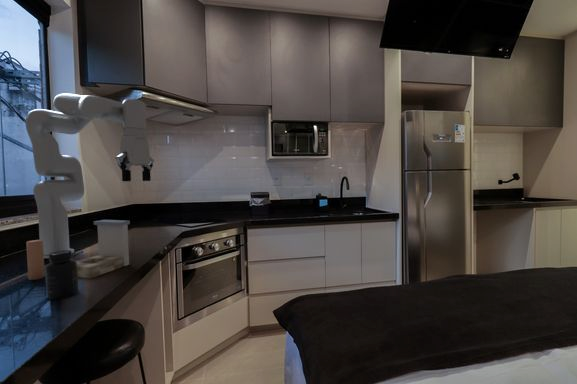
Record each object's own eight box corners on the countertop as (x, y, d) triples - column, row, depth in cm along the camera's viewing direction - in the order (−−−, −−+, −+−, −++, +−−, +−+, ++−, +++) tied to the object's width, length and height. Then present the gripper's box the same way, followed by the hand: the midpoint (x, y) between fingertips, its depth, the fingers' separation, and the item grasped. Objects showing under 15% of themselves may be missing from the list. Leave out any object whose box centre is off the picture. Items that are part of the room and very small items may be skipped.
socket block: (63, 275, 94) (62, 264, 94) (96, 264, 106) (96, 255, 105) (90, 278, 91) (90, 267, 90) (122, 266, 102) (121, 257, 102)
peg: (25, 279, 91) (23, 242, 90) (39, 275, 94) (37, 239, 94) (34, 280, 89) (31, 242, 89) (48, 276, 93) (46, 240, 93)
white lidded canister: (95, 264, 105) (93, 221, 104) (106, 261, 109) (104, 219, 109) (121, 267, 102) (119, 222, 101) (131, 263, 106) (129, 220, 105)
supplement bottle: (67, 289, 82) (64, 248, 81) (84, 291, 80) (82, 249, 79) (40, 298, 75) (37, 254, 75) (58, 301, 74) (56, 256, 73)
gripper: (143, 138, 114) (145, 180, 114) (106, 131, 97) (108, 181, 98) (159, 137, 112) (161, 180, 113) (124, 130, 95) (126, 181, 96)
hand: (137, 181), depth 105 cm, fingers open, 9 cm apart
